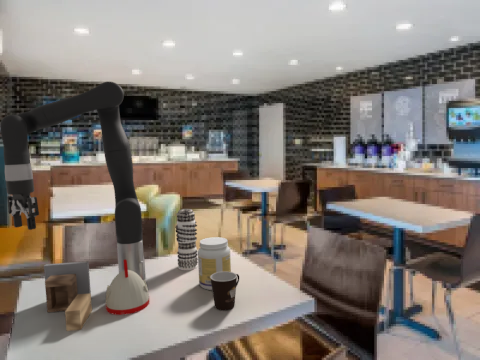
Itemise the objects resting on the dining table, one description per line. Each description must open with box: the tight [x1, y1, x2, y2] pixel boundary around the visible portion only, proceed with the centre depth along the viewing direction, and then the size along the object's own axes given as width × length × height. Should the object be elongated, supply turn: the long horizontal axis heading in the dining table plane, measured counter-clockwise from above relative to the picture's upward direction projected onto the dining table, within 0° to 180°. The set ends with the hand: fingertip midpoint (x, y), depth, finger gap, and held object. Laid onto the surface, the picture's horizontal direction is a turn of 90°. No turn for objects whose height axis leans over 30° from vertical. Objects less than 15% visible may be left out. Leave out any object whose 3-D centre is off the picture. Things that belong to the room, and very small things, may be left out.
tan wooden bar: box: [64, 293, 93, 332], centre depth 109 cm, size 4×12×6 cm, turn 8°
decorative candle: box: [175, 208, 198, 271], centre depth 153 cm, size 9×9×25 cm
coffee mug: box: [210, 271, 240, 311], centre depth 117 cm, size 12×9×10 cm
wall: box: [43, 261, 92, 294], centre depth 124 cm, size 14×2×13 cm, turn 98°
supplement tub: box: [197, 236, 232, 291], centre depth 134 cm, size 12×12×17 cm
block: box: [44, 274, 78, 313], centre depth 118 cm, size 8×5×10 cm, turn 98°
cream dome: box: [105, 260, 150, 316], centre depth 119 cm, size 14×14×15 cm
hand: (25, 228), depth 116 cm, fingers open, 8 cm apart
